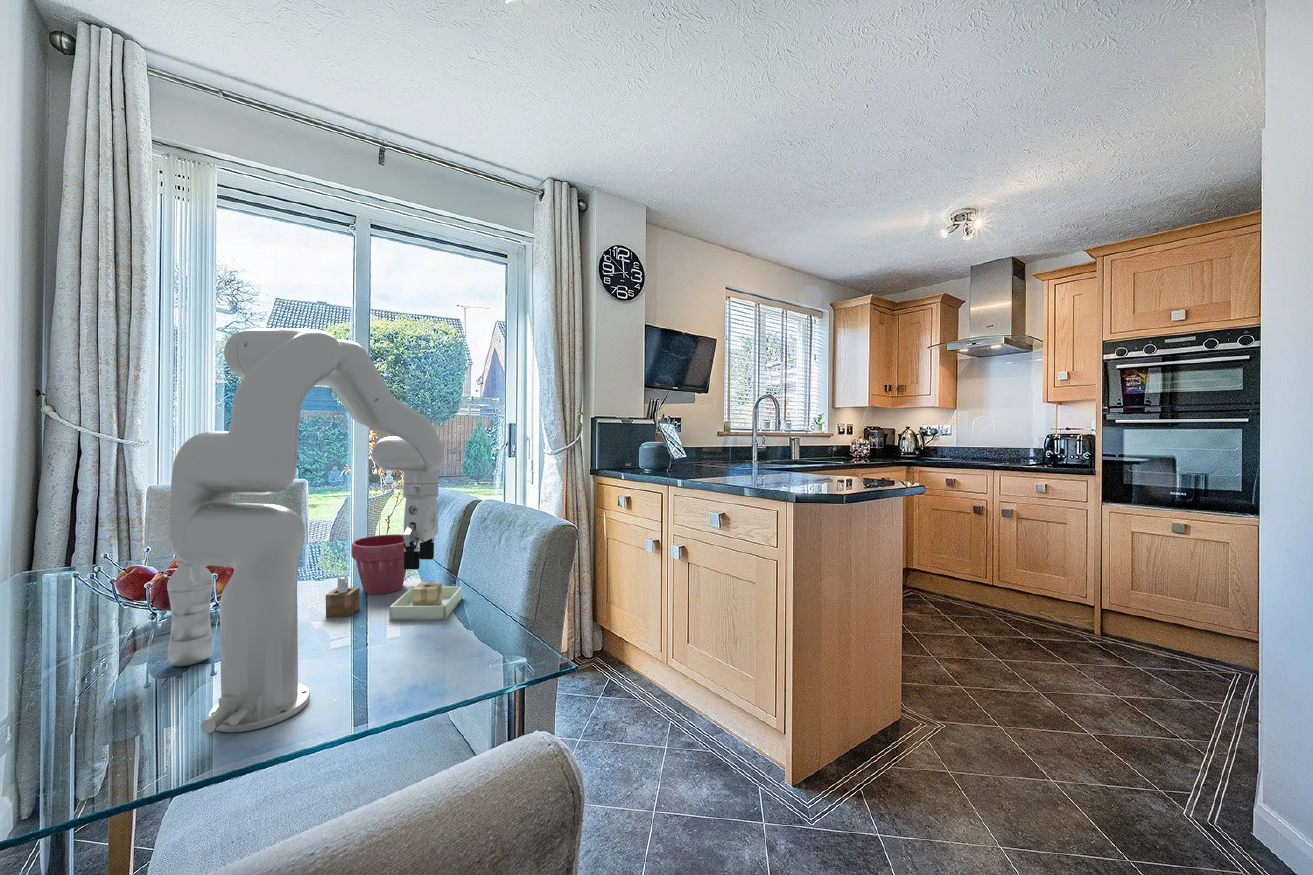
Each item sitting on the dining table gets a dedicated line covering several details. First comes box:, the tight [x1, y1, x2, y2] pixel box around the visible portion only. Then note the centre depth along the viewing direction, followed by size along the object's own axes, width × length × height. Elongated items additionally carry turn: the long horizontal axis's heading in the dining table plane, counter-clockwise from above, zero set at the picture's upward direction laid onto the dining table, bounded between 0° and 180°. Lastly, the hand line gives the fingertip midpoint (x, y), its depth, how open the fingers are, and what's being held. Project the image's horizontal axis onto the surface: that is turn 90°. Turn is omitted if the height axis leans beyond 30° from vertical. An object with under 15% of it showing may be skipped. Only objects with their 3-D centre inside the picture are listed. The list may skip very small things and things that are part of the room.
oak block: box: [413, 581, 443, 606], centre depth 127 cm, size 5×5×5 cm
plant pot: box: [351, 533, 407, 595], centre depth 141 cm, size 14×14×13 cm
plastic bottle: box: [166, 556, 215, 667], centre depth 98 cm, size 6×7×20 cm
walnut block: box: [325, 587, 361, 618], centre depth 124 cm, size 5×5×5 cm
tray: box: [388, 585, 464, 621], centre depth 127 cm, size 14×12×3 cm
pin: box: [337, 576, 349, 593], centre depth 124 cm, size 2×2×8 cm
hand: (419, 563), depth 127 cm, fingers open, 9 cm apart
